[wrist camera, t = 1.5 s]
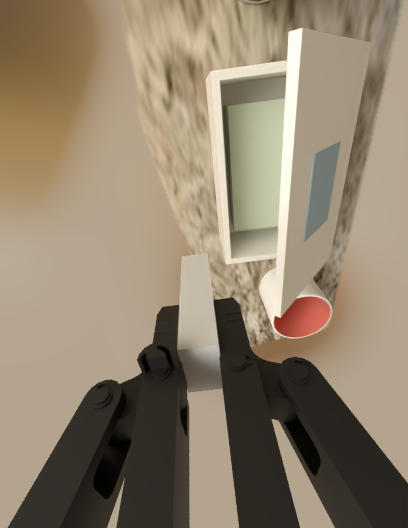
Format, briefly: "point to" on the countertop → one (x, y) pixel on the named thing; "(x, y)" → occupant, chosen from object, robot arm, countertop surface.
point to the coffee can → (255, 1)
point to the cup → (296, 309)
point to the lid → (315, 152)
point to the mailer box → (247, 156)
